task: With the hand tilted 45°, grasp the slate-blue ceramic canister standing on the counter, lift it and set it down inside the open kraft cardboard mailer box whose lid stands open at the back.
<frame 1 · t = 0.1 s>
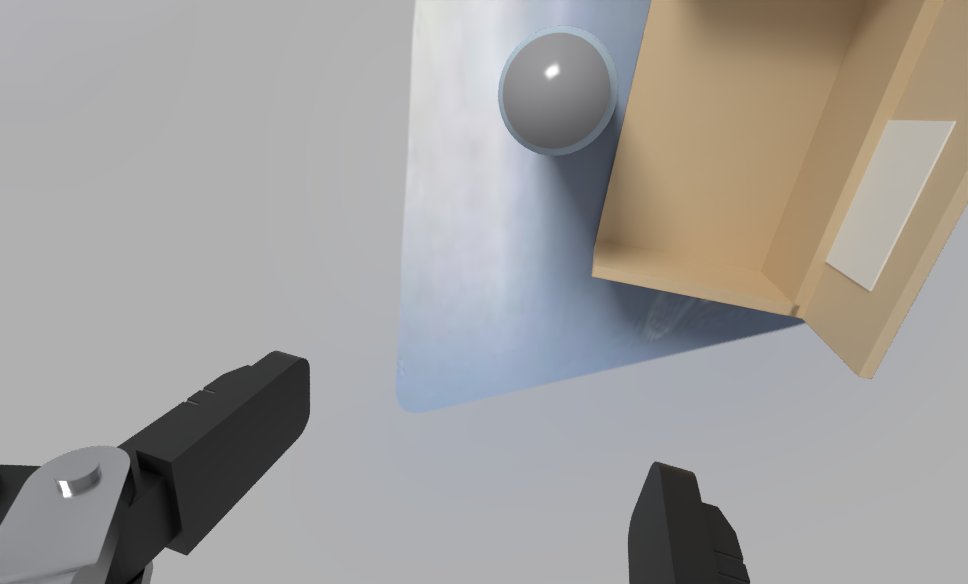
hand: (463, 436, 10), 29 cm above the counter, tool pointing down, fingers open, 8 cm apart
canister: (571, 100, 34), on the counter
mailer: (719, 120, 32), on the counter
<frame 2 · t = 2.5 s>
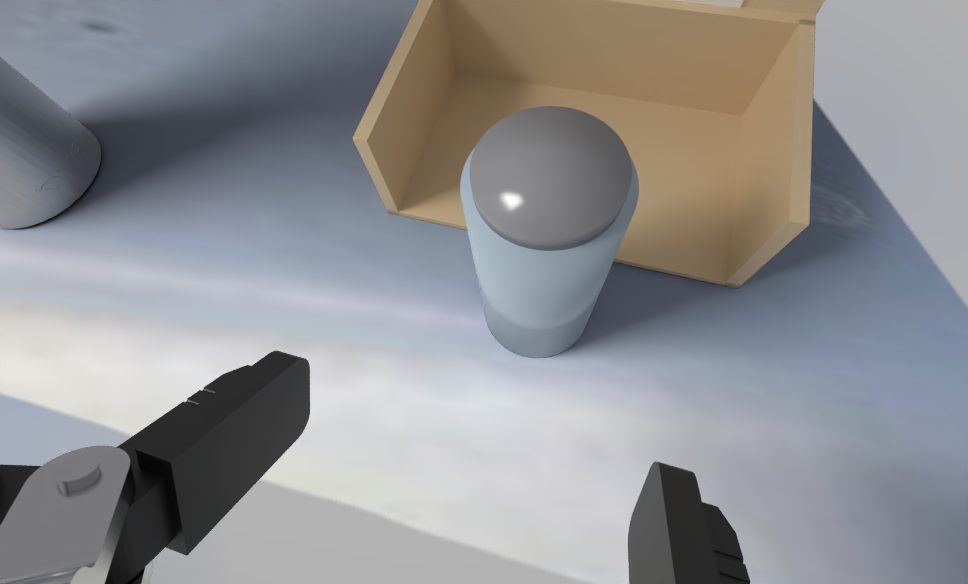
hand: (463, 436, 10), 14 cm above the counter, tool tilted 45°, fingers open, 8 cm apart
canister: (536, 307, 27), on the counter
mailer: (573, 164, 30), on the counter
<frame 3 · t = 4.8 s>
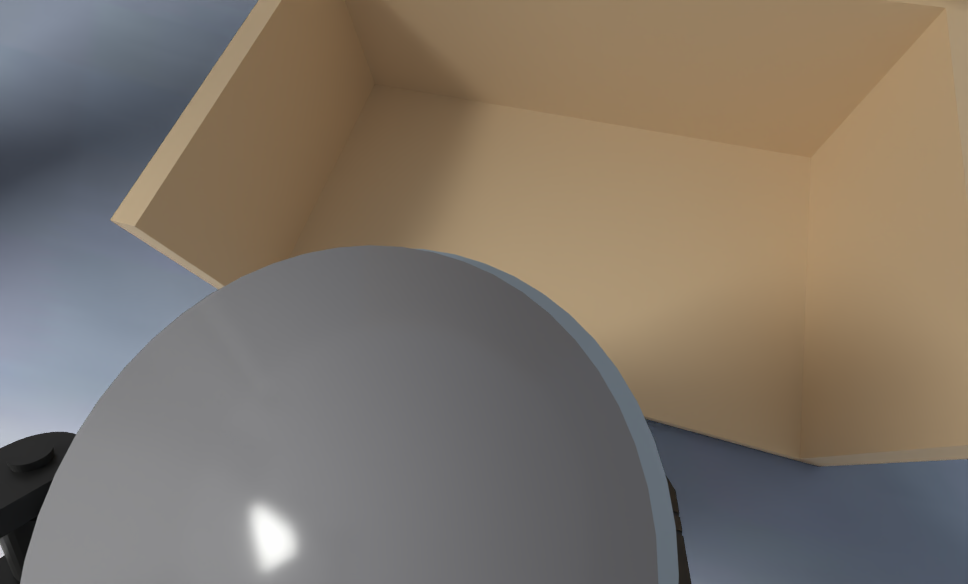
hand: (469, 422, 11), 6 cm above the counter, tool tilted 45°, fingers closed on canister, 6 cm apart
canister: (472, 492, 16), on the counter, touching gripper
mailer: (544, 233, 19), on the counter
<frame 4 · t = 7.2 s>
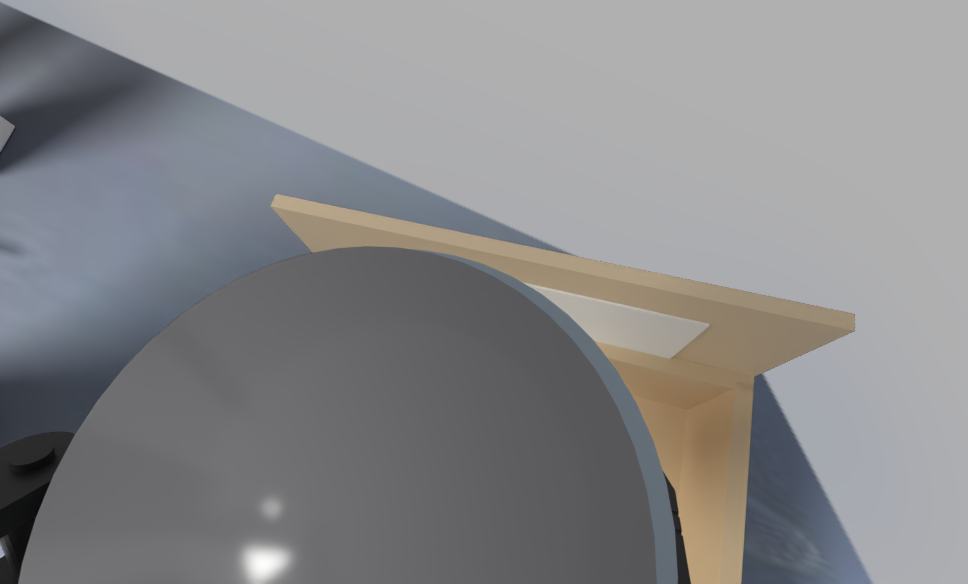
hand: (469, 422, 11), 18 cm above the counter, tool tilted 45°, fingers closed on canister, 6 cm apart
canister: (472, 493, 16), point 12 cm above the counter, touching gripper
mailer: (499, 465, 27), on the counter
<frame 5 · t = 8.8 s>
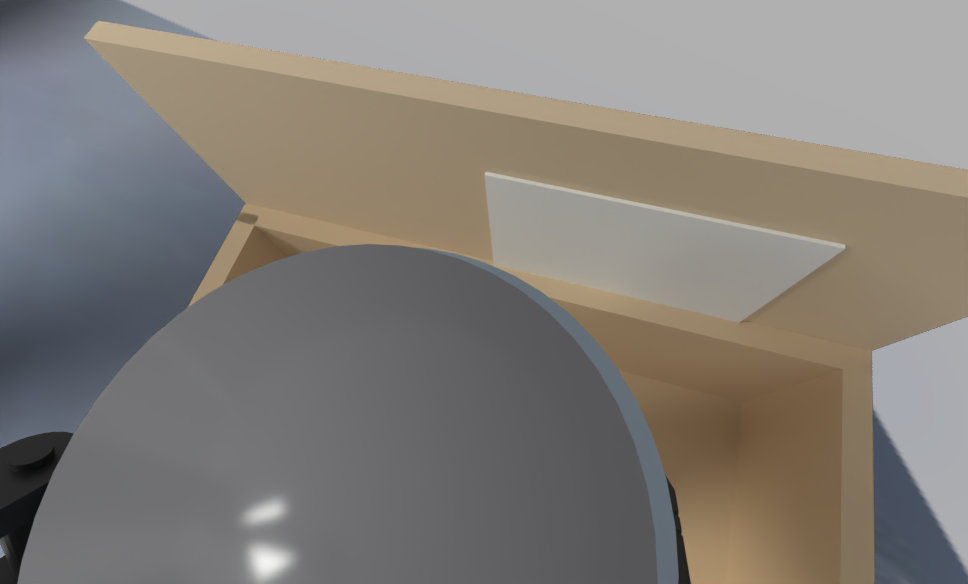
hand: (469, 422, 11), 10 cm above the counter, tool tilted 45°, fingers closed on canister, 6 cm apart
canister: (472, 492, 16), point 4 cm above the counter, touching gripper
mailer: (480, 476, 20), on the counter
when the fingers open (7 cm above the counter, at t = 9.9 s): canister drops 1 cm, resting on mailer.
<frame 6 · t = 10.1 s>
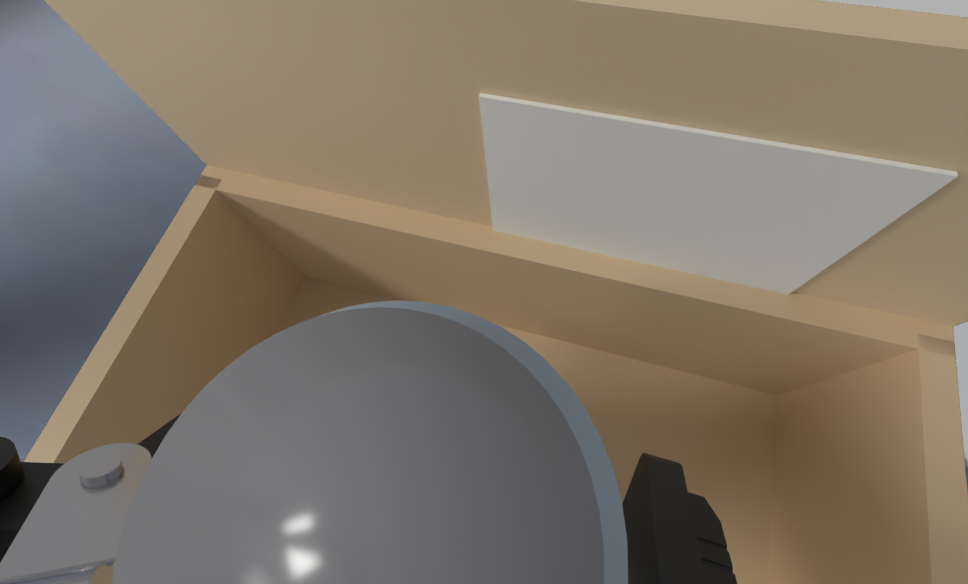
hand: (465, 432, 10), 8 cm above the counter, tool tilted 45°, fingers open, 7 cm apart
canister: (472, 496, 17), resting on mailer
mailer: (479, 480, 17), on the counter
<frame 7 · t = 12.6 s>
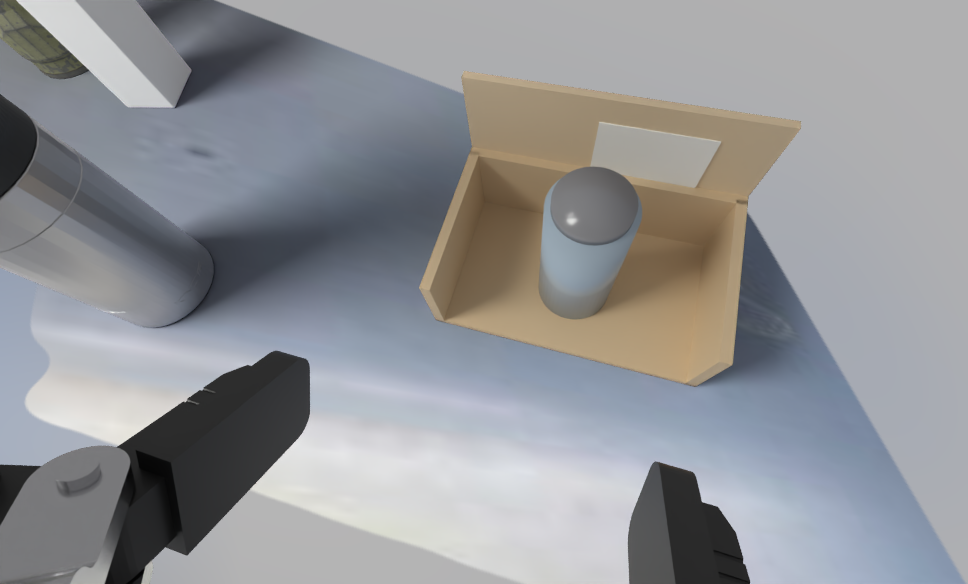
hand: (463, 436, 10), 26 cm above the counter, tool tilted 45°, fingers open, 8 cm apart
milk: (162, 90, 54), on the counter
canister: (573, 286, 39), resting on mailer
mailer: (575, 283, 40), on the counter
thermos: (76, 55, 58), on the counter
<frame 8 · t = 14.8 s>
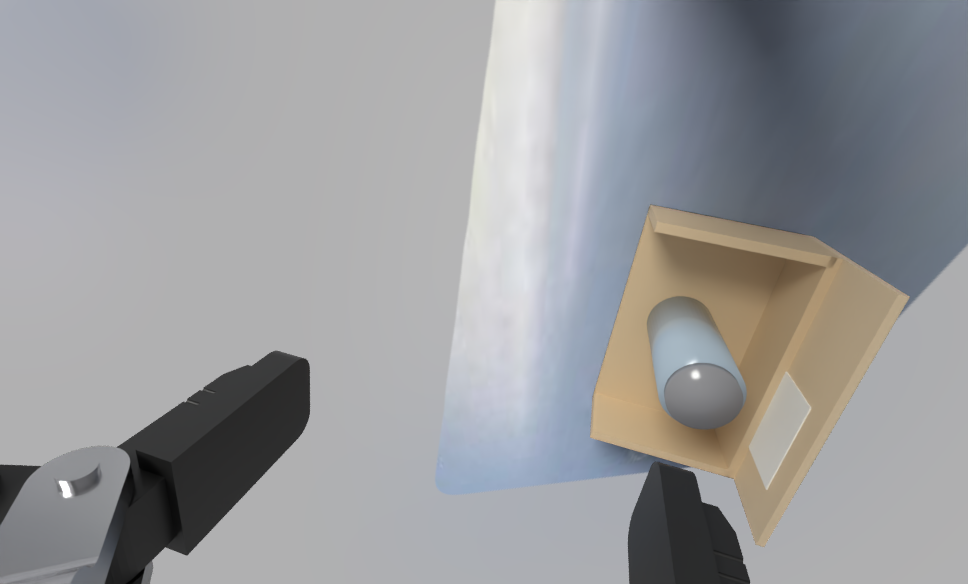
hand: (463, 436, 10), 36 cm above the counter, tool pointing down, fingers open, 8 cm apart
canister: (679, 324, 45), resting on mailer
mailer: (684, 325, 45), on the counter
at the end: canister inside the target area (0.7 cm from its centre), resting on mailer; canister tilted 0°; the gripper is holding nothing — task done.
